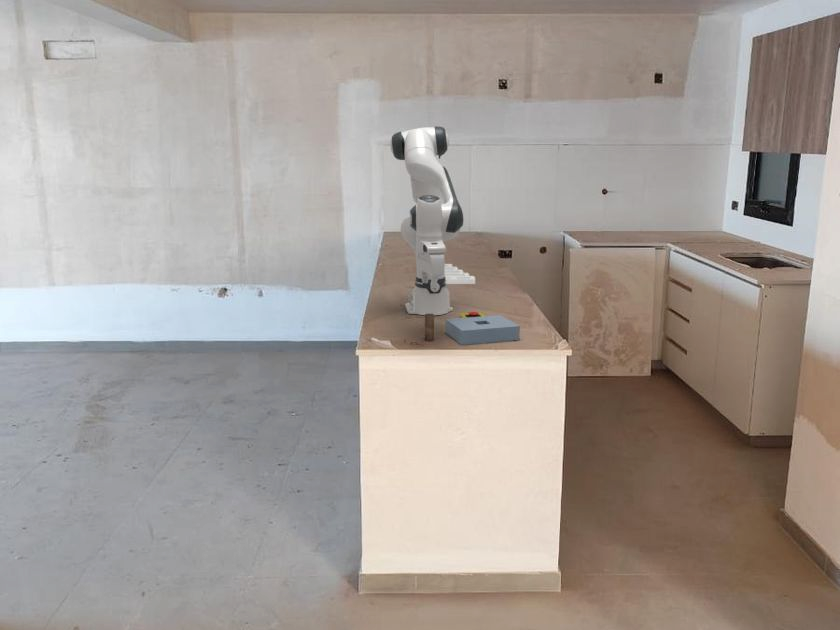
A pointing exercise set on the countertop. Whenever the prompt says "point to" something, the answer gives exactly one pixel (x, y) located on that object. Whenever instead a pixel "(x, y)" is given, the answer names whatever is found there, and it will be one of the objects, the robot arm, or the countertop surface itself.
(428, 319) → the peg
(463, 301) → the countertop surface
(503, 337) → the socket block
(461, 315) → the emergency button
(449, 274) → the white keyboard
